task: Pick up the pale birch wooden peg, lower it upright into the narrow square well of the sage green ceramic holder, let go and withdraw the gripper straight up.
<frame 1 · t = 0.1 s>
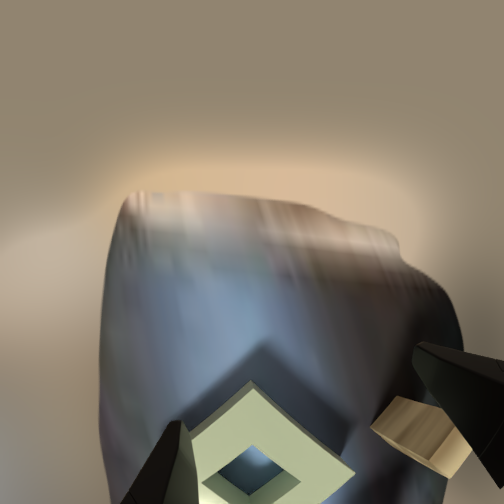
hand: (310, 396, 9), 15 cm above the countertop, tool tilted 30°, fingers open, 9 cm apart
peg: (394, 421, 22), on the countertop
well holder: (249, 464, 20), on the countertop
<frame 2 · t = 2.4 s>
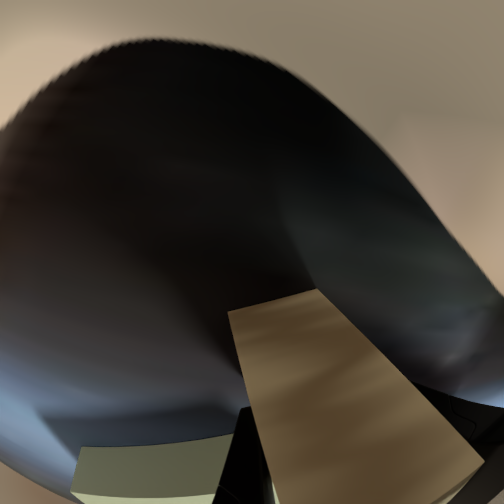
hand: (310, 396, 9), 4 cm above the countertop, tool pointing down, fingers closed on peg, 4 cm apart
peg: (279, 338, 13), on the countertop, touching gripper
well holder: (193, 485, 15), on the countertop
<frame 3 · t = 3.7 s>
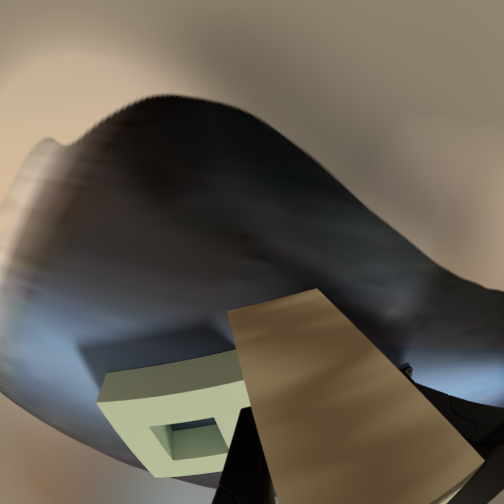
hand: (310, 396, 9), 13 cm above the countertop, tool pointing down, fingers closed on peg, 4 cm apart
peg: (279, 338, 13), point 9 cm above the countertop, touching gripper
well holder: (190, 410, 23), on the countertop
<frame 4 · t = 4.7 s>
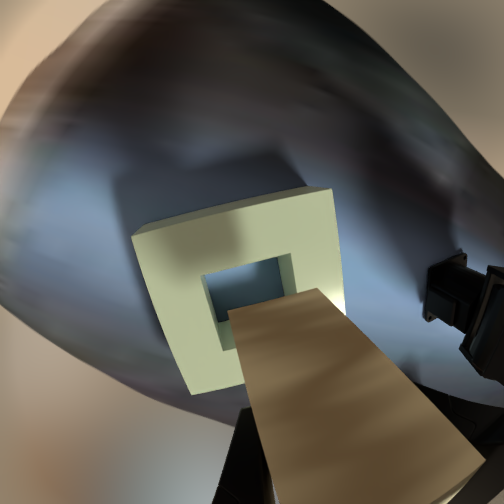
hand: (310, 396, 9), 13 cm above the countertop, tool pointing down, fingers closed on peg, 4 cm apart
peg: (279, 337, 13), point 9 cm above the countertop, touching gripper
well holder: (244, 282, 21), on the countertop
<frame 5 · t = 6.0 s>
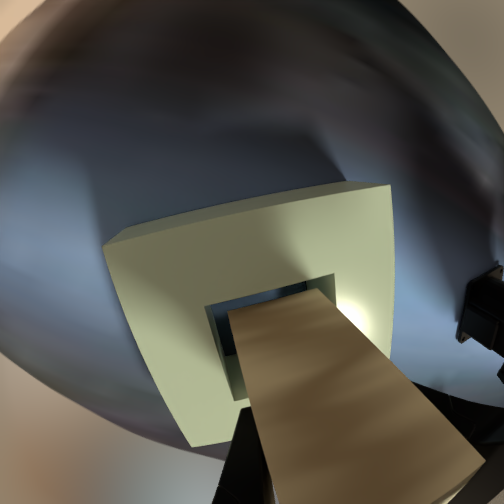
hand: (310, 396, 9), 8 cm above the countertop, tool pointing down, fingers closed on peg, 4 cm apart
peg: (279, 337, 13), point 3 cm above the countertop, touching gripper
well holder: (261, 306, 16), on the countertop
when the fingers open (5 cm above the countertop, at t = 7.2 s): peg drops 1 cm, resting in well holder.
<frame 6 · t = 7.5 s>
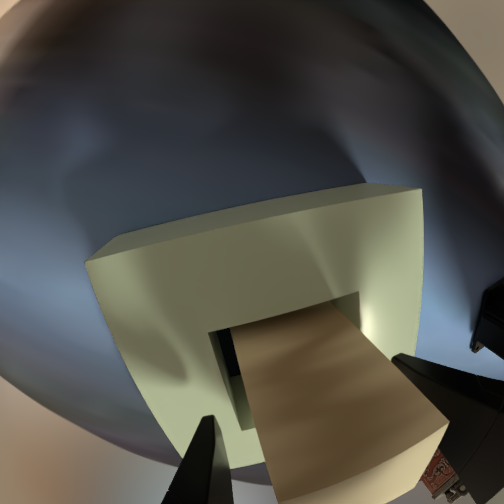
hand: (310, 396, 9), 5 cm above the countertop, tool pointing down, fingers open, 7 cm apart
lighter: (430, 440, 24), on the countertop
peg: (271, 322, 14), resting in well holder
well holder: (271, 323, 14), on the countertop
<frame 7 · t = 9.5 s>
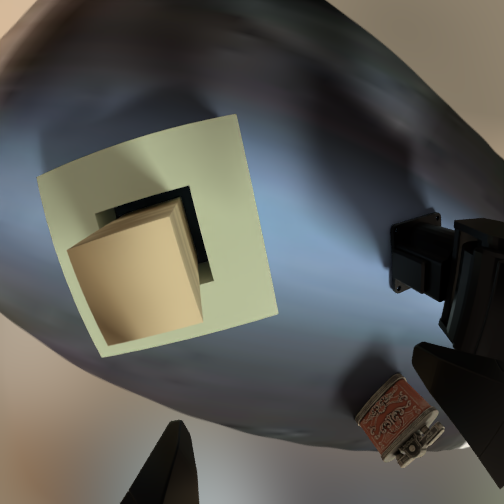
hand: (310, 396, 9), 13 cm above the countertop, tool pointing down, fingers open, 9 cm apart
lighter: (378, 398, 29), on the countertop
peg: (161, 232, 19), resting in well holder
well holder: (160, 233, 19), on the countertop
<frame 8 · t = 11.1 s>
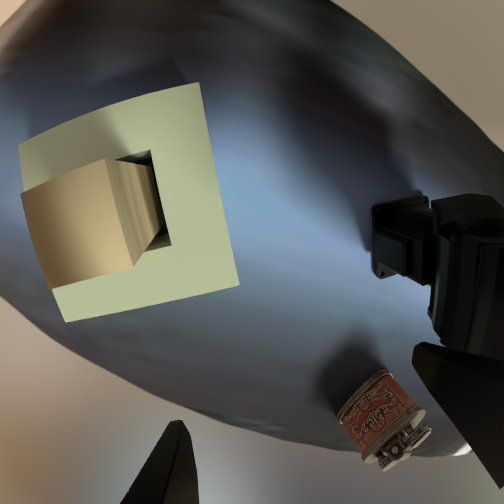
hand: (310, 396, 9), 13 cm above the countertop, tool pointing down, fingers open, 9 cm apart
lighter: (362, 394, 28), on the countertop
peg: (130, 202, 18), resting in well holder
well holder: (130, 203, 18), on the countertop
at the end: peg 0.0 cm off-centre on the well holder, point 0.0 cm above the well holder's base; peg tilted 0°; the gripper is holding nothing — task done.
